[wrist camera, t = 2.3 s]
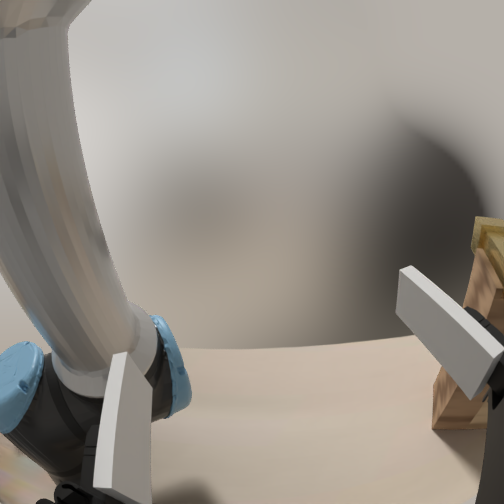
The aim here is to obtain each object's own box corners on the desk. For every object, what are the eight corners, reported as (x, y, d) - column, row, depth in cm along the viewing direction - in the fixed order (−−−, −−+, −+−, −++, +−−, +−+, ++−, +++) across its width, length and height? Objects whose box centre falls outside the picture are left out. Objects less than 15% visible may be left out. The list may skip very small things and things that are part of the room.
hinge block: (497, 427, 25) (575, 292, 15) (431, 429, 31) (496, 288, 20) (492, 386, 32) (547, 255, 22) (433, 385, 38) (476, 248, 27)
